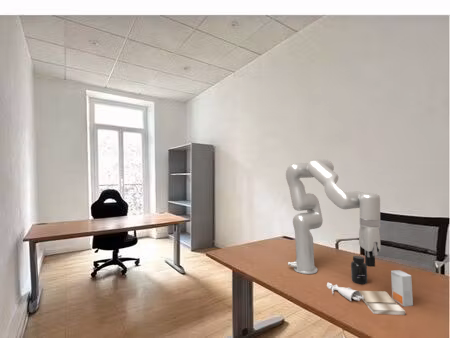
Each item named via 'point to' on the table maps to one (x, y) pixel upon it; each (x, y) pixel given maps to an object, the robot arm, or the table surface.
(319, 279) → the table surface
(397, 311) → the laid board
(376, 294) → the beige flat panel
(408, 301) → the skincare box
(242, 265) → the table surface
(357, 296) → the woman figurine
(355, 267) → the supplement bottle
